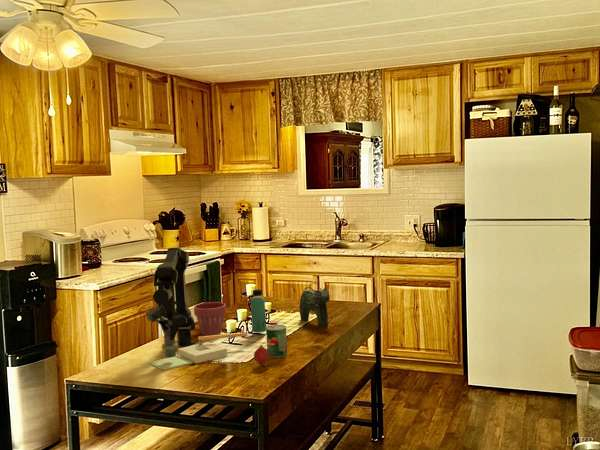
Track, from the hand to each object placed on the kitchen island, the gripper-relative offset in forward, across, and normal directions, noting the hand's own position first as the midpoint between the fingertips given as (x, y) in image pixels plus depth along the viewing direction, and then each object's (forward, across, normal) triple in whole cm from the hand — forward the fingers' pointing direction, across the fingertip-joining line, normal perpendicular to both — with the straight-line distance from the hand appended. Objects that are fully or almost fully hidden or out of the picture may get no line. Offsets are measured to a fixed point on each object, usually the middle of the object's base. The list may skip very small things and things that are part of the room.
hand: (169, 339), depth 250 cm
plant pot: (+10, -30, +36) cm, 48 cm away
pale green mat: (+9, 0, 0) cm, 9 cm away
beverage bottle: (+10, -12, +50) cm, 52 cm away
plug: (+6, 0, 0) cm, 6 cm away
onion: (+10, +28, +23) cm, 37 cm away
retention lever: (+5, -2, +25) cm, 25 cm away
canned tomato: (+10, +20, +36) cm, 42 cm away
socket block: (+10, 0, +14) cm, 17 cm away
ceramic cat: (+10, -10, +80) cm, 81 cm away
